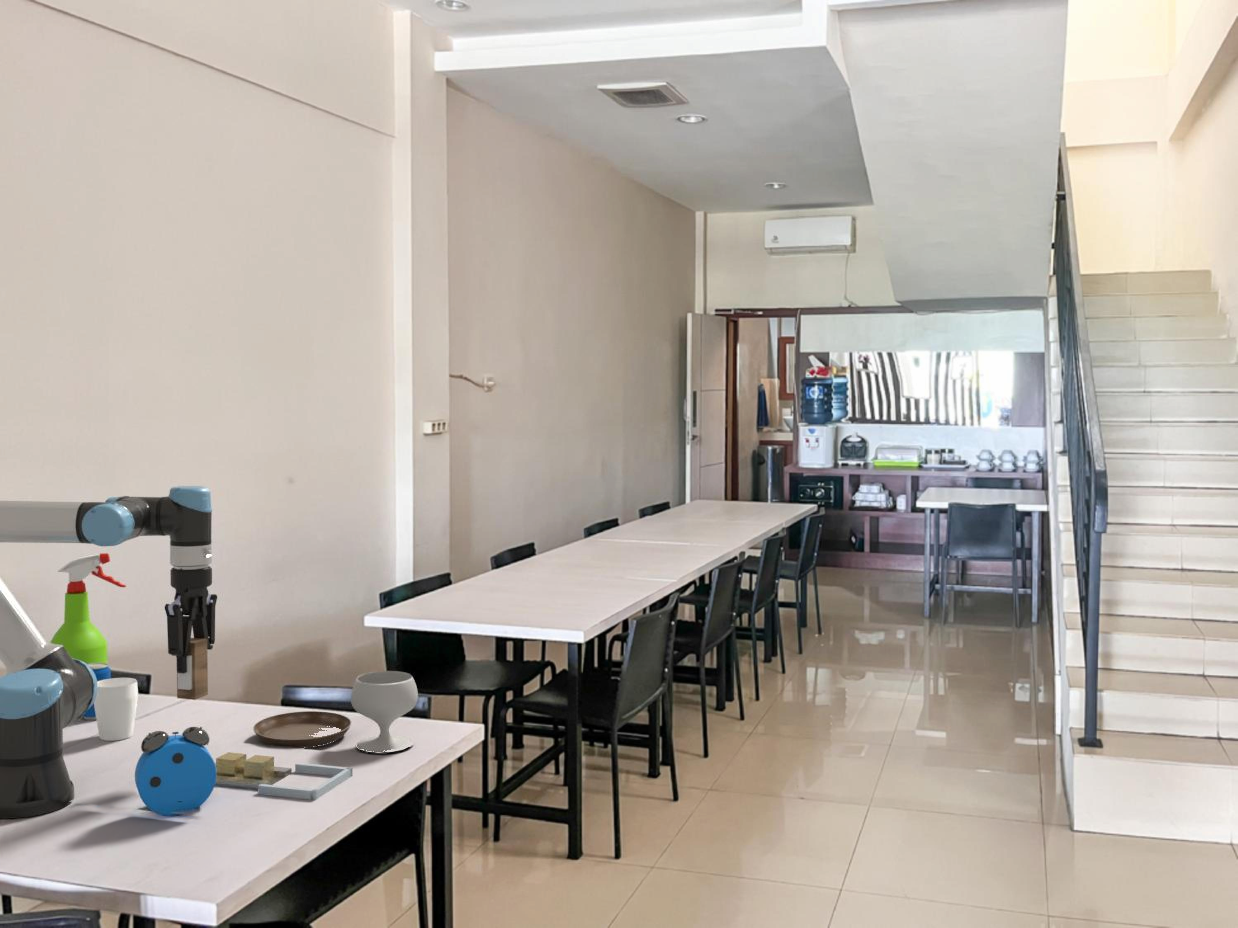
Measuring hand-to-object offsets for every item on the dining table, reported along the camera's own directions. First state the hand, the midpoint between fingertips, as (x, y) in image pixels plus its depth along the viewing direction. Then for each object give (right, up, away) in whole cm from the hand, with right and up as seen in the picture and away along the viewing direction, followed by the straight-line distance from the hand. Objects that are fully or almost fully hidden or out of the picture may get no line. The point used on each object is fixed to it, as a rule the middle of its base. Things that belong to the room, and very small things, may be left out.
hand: (192, 685), depth 221 cm
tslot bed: (+10, -18, -2) cm, 21 cm away
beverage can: (-38, -16, +43) cm, 60 cm away
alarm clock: (+4, -19, -18) cm, 26 cm away
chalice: (+33, -18, +22) cm, 43 cm away
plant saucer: (+14, -17, +28) cm, 36 cm away
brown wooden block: (0, -2, 0) cm, 2 cm away
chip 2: (+14, -17, -3) cm, 22 cm away
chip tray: (+24, -19, -5) cm, 30 cm away
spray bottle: (-50, -15, +65) cm, 83 cm away
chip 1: (+8, -17, -1) cm, 19 cm away
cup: (-27, -17, +27) cm, 42 cm away
